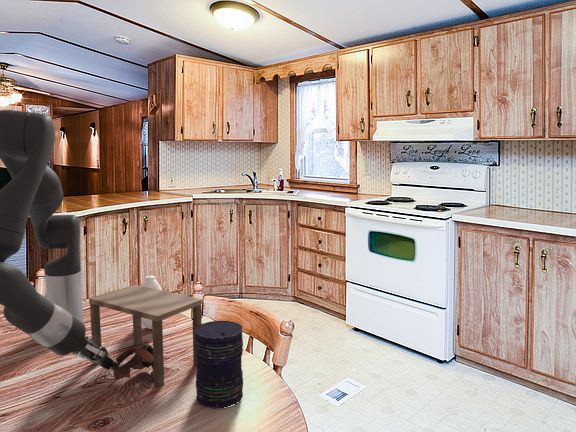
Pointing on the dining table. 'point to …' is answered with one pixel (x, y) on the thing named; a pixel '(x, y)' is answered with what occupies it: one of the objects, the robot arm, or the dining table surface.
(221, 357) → the dark blue cylinder
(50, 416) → the dining table surface
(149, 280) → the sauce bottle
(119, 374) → the pottery mug
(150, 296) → the wooden side table
